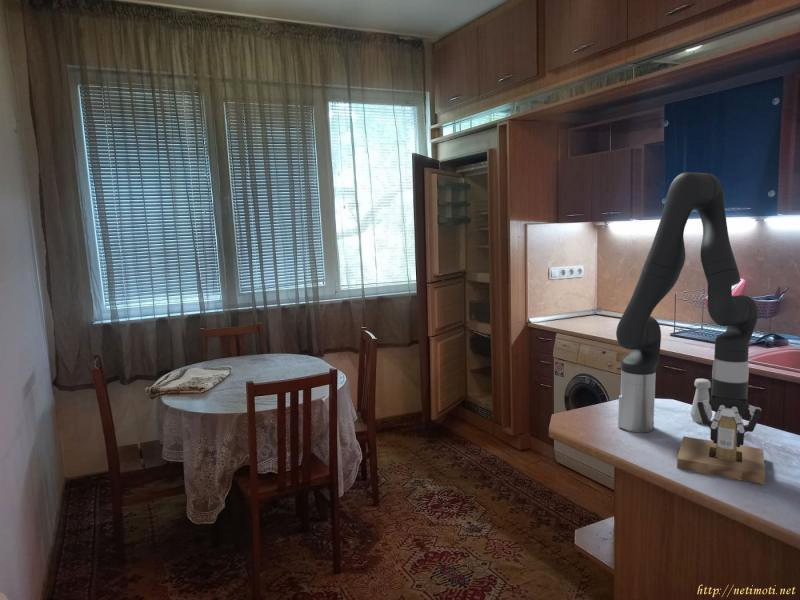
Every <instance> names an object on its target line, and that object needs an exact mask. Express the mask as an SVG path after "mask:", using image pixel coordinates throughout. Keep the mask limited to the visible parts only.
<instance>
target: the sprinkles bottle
mask: <svg viewBox="0 0 800 600" xmlns="http://www.w3.org/2000/svg"><path fill="white" fill-rule="evenodd" d="M719 414H720V415H722V416H721V419H720V421H719V423H718V425H717V443H716V444H717V448H716V449H717V450H716V457H715V458H718V459H724V460H730V461H735V462H737V461H736V459H737V458H736V448H737V430H738V427H737V424H736V421H735V418H734V417H735V413H734V411H733V410H732V408H725V409H722V411H721V412H720V413H719ZM736 416H737V415H736ZM718 417H719V416H718Z"/></svg>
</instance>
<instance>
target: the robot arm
mask: <svg viewBox="0 0 800 600" xmlns="http://www.w3.org/2000/svg"><path fill="white" fill-rule="evenodd" d="M667 191H668V192H667V194H666V198H665V202H664V205H663V209H662V213H661V216H660V221H659V223H658V227H657V230H656V232H655V235H654V237H653V238H654V239H653V242H652V244H651V247H650V249H649V252H648V254H647V255H646V259H645V261H644V264H643V267H642V270H641V273H640V275H639V278H638V280H637V283H636V285H635V288H634V290H633V292H632V296H631V298H630V300H629V302H628V304H627V307H626V308H625V310H624V311H623V314H622V316H621V317H620V319H619V322H618V323H617V327H616V330H615V333H616V335H615V336H616V340H617V343H618V344H619V346H620V347H621V348H623V349H625V350H630V352H629V353H628V354H627V355H626V356H625V357H624V358H623V359H622V361H621V366H620V367H621V368H620V395H619V396H618V413H617V415H618V416H617V417H618V418H617V419H618V422H617V428H620V429H623V430H625V431H627V432H633V433H650V432H653V430H654V424H655V421H654V420H655V397H656V369H657V366H658V365H659V360H660V353H661V343H662V331H661V330H662V329H661V326H660V323H659V321H658V320H657V319H656V318H654V317H653V316H651V315H652V313H653V311H654V310H655V308H656V307H657V305H659V303H660V302H661V301H662V300H663V299H664V298H665V297H666V296H667V295H668V294H669V292H671V290H672V289H673V287H674V286H675V285H676V283H677V281H678V280H679V277H680V275H681V272H682V271H683V268H684V265H685V262H686V248H685V241H684V240H685V239H684V235H685V234H684V232H685V228H686V224H687V222H688V219H689V217H690V215H691V213H692V212H693V210H695V211H697V214H698V215H699V218H700V220H701V224H702V238H701V244H700V262H701V266H702V269H703V272H704V276H705V279H706V282H707V312H708V314H709V317H710V318H711V320H712V321H713V322H714V323H715V324H716V325H718V326H721V327H726V330H725V331H724V332H723V333H721V334H720V335H719V334H718V335H717V336H716V338H715V339H714V340H715V341H714V359H713V363H712V373H711V377H712V378H711V396H709V398H710V399H709V400H704V401H703V400H698V403H697V406H698V409H699V412H700V416H701V419H702V422H703V426H707V427H708V428H710V435H709V437H710V441H713V443H717V425H718V423H719V421H720V419H721V416H722V415H720V414H719V413H720V412H721V411H722V409H725V408H732V410H733V411H734V413H735V417H734V418H735V421H736V424H737V447H740V445H741V446H744V442H745V441H744V440H745V433H747V432H749V433H753V432H754V430H755V428H756V425H757V424H758V421H759V419H760V417H761V414H762V408H761V407H760V406H754V405H751V404H750V403H749V400H748V390H749V377H750V374H749V373H750V372H749V370H750V369H749V352H750V351H749V349H750V345H749V344H750V341H751V339H752V337H753V334H754V331H755V329H756V328H755V327H756V325H757V322H758V318H759V317H758V316H759V309H758V306H757V305H758V304H757V303H756V301H755V300H754V299H753V298H752V297H751V296H748V295H742V294H741V295H733V293H732V292H733V290H732V289H733V288H732V287H734V286H736V285H737V284H739V283H740V281H741V273H740V272H739V268H738V264H737V261H736V259H735V255H734V252H733V249H732V246H731V242H730V237H729V236H730V235H729V230H728V223H727V216H726V208H725V199H724V198H725V197H724V191H723V187H722V184H721V181H720V179H719V178H718V177H717V176H716V175H714V174H712V173H707V172H690V171H689V172H687V171H686V172H681V173H679V174H678V175H677V176H676V177H675V178H674V179H673V181H672V182H671V184H670V185H669V188H668V190H667ZM709 404H710V405H711V409H712V410H713V411H714V412H715V413H714V416H713V418H712V419H711V420H709V419H708V416H707V413H706V409H707V408H708V405H709ZM748 410H749V414H750V419H749V422H748V424H744V422H743V418H742V415H743V414H744V413H746V412H747V411H748ZM736 415H737V416H736ZM718 416H719V417H718Z"/></svg>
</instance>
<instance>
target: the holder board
mask: <svg viewBox="0 0 800 600" xmlns="http://www.w3.org/2000/svg"><path fill="white" fill-rule="evenodd" d="M716 448H717V444H716V443H713V441H712V440H711V439H710V440H708V439H702V438H696V437H690V436H683V437H682V440H681V443H680V448H679V451H678V454H677V459H676V460H677V461H676V462H677V463H676V468H677V469H681V470H687V471H691V472H697V473H701V474H702V473H703V474H707V475H708V474H709V475H713V476H717V475H718V476H719V477H722V476H723V477H724V478H727V477H728V478H729V479H733V480H737V481H738V480H739V481H743V482H744V481H745V482H749V483H755V484H760V485H765V483H766V482H765V481H766V469H765V467H766V466H765V456H764V448H758V447H753V446H747V445H740V447H737V448H736V458H737V459H736V461H730V460H724V459H718V458H717V457H716V450H717V449H716ZM728 478H727V479H728Z"/></svg>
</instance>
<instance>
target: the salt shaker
mask: <svg viewBox="0 0 800 600" xmlns="http://www.w3.org/2000/svg"><path fill="white" fill-rule="evenodd" d="M693 384H694V387H695V393H694V397H693V401H692V406H691V409H690V417H691V418H692V419H691V420H692V421H693V422H695V423H697V424H701V425H702V424H703V422H702V419H701V416H700V412H699V409H698V406H697V403H698V400H703V401H704V400H709V399H710V392H709V389H710V388H712V381H710V379H706V378H695V380H694V383H693ZM712 410H713V409H712V407H711V405H710V404H709V405H708V408H707V409H706V413H707V416H708V419H709V420H711V421H712V419H713V418H712V417H713V411H712ZM703 425H704V424H703Z"/></svg>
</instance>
